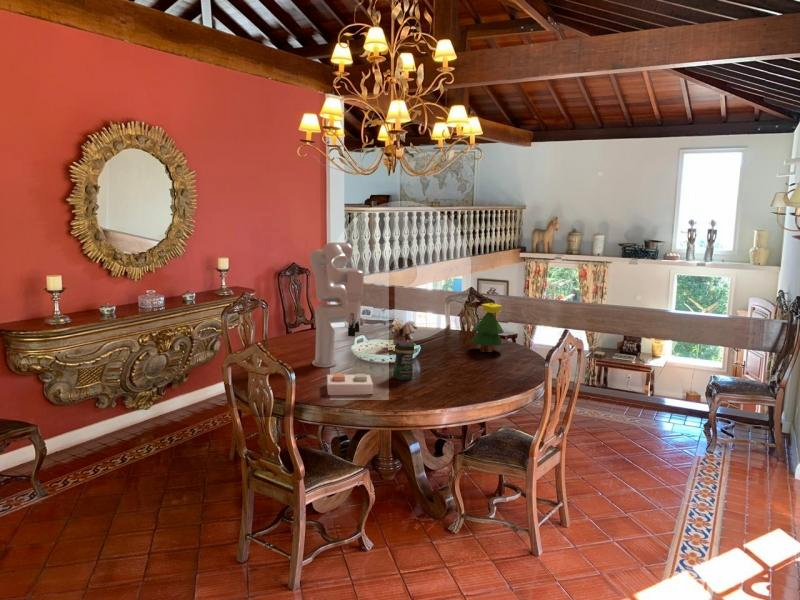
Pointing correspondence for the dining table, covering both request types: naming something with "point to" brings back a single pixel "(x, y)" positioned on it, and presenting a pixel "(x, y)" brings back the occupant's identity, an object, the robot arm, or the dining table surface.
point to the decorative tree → (488, 329)
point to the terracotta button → (338, 377)
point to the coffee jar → (403, 360)
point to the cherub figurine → (402, 331)
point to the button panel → (349, 386)
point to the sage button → (360, 377)
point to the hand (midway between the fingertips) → (353, 334)
